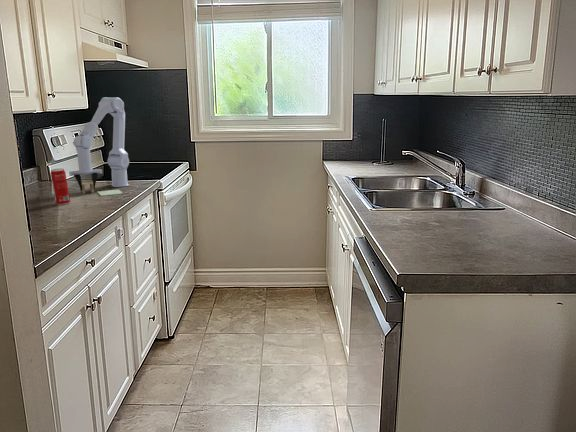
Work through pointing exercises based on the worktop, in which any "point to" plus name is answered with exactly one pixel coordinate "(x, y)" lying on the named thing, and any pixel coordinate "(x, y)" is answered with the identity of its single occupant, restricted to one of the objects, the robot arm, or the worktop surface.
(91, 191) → the stool
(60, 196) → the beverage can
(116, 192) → the mat
